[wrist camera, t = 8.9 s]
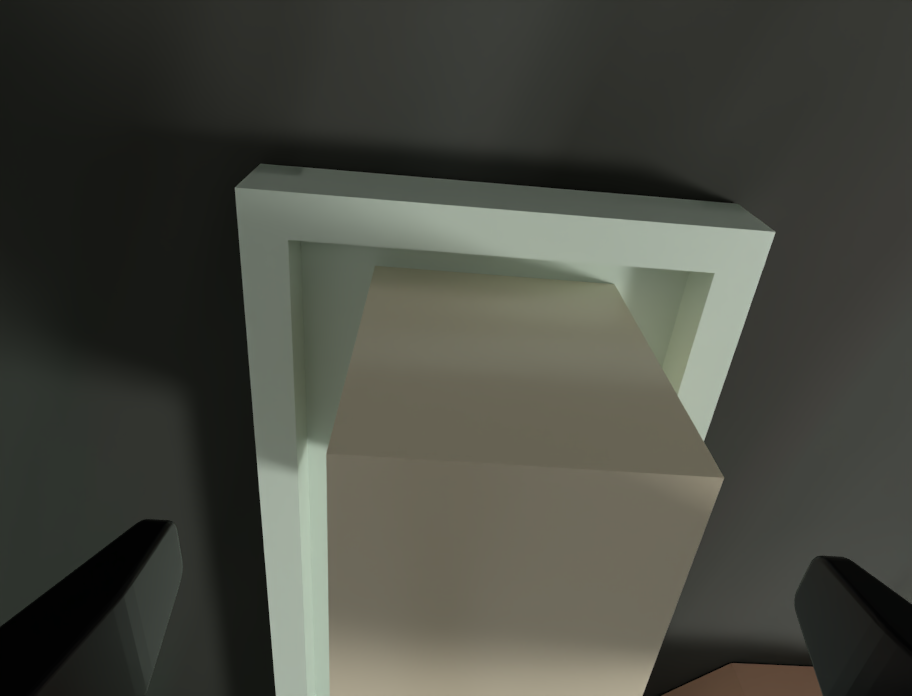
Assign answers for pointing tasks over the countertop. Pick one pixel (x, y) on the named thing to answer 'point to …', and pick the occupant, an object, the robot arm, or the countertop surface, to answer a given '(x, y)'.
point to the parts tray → (456, 250)
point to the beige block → (506, 492)
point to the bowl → (753, 681)
